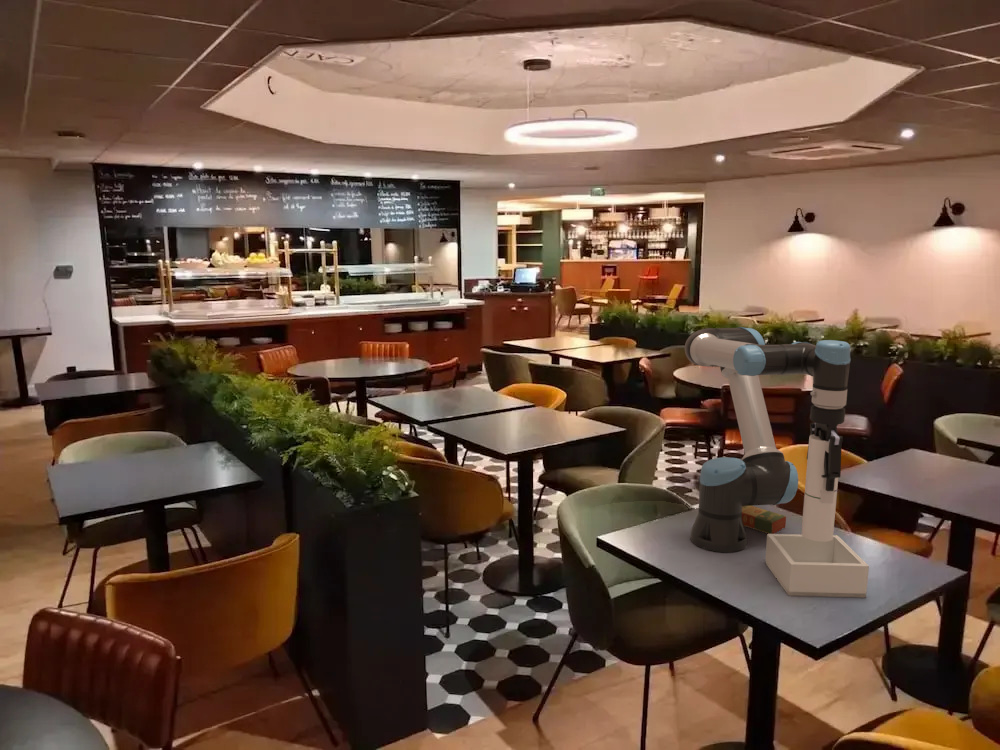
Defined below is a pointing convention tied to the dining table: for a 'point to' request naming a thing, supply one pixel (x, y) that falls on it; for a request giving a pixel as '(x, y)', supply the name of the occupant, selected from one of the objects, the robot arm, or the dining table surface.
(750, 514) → the carton
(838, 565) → the beige bin
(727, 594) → the dining table surface
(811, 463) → the cylindrical container
